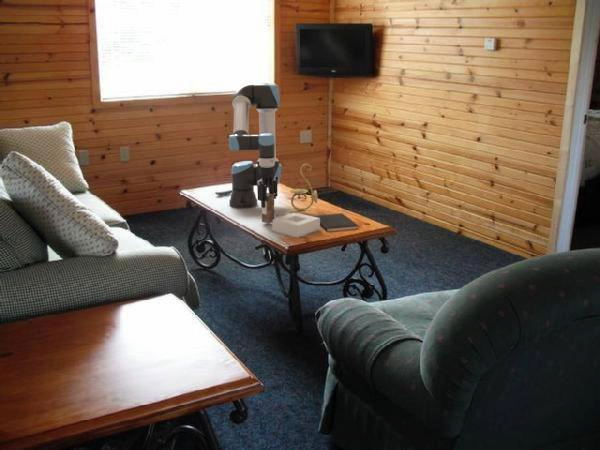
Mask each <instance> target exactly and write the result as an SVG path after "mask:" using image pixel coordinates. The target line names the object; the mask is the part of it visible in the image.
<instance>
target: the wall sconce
mask: <svg viewBox="0 0 600 450" xmlns="http://www.w3.org/2000/svg"><path fill="white" fill-rule="evenodd" d="M305 166H308V167H309V168H306V171H308V172H310V171H311V170H312V166H311V164H310V163H303V164H301V166H300V168H299V172H300V175H301V177H302V178H303V180H304V181H305V182H306V184H307V185H308V187H309V189H310V192H311V195H310V199H311V201H310V204H309V205H307V206H306V207H304V208H298V207H296V206H295V204H294V199H295V197H296V196H297V200H300V202H302V203H305V202H306V201H307V198H308V197H307V195H306V194H307V193H308V192H309V189H304V188H294V189H290V190H289V192H290V193H292V194H293V195H292V197H291V200H290V204H291V206H292V208H293V209H294V210H297V211H306V210H308V209H309V208H311V207H312V206H313V205H314V204H313V203H315V204H318V192H317V190H316V189H315V190H313V188H312V185H311V183H310V182H309V180H308V179H307V178H306V177H305V175H304V174H303V168H304V167H305ZM302 196H303V197H304V199H301V198H302Z"/></svg>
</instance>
